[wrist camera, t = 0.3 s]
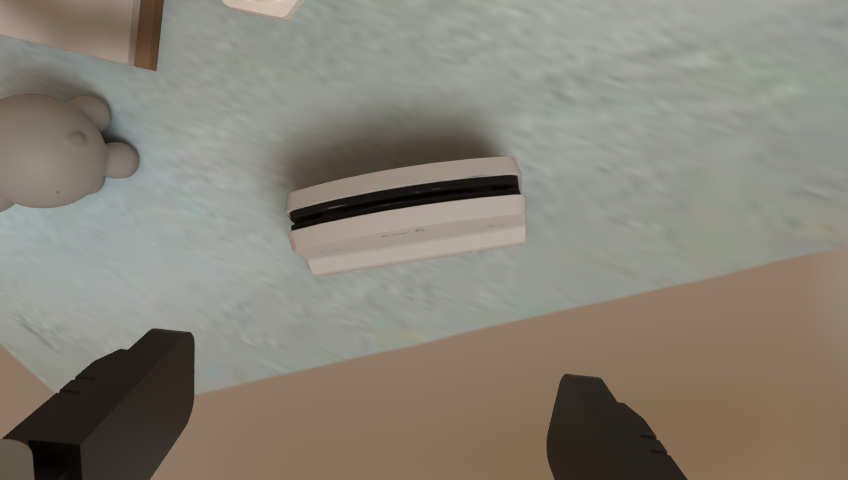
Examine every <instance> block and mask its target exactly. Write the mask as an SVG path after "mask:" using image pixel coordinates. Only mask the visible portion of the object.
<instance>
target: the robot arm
mask: <svg viewBox="0 0 848 480" xmlns="http://www.w3.org/2000/svg"><path fill="white" fill-rule="evenodd" d="M194 351H195V344H194V337H193V335H192V333H190V332H183V331H174V330H165V329H156V328H154V329H151V330H150V331H148V332H147V333H146V334H145V335H144V336H143V337H142V338H141V339H139V340H138V341H137V342H136V343H135V344H134V345H133V346H132V347H131V348H129V349H128V350H125V349H119V350H117V351H115V352H113V353H111V354H108V355H106V356H104V357H102V358H100V359H98V360H95V361H94V362H93V363H91V364H90V365H89V366H88V367H87V368H85V369H84V370H83V371H82V372H81V373H79V374H78V375H77V376H76V378H75V380H71V381H70V382H69V383H68V384H66V385H65V386H64V387H63V388H62V389H60V392H59V393H56V394H54V395H53V396H52V397H51V398H50V399H49V400H47V401H46V402H45V403H44V404H43V405H41V406H40V407H39V408H38V409H37V410H35V411H34V412H33V413H32V414H31V415H30V416H28V417H27V418H26V419H25V420H24V421H22V422H21V423H20V424H19V425H18V426H16V427H15V428H14V429H13V430H12V431H10V432H9V433H8V434H7V435H6V436H4V437H3V438H2V439H0V480H150V479H151V477H152V476H153V474H154V473H155V471H156V470H157V468H158V467H159V465H160V464H161V462H162V461H163V459H164V457H165V456H166V455H167V454H168V452H169V451H170V449H171V448H172V446H173V445H174V443H175V442H176V440H177V439H178V437H179V436H180V434H181V433H182V431H183V430H184V428H185V427H186V425H187V423H188V421H189V418H190V415H191V412H192V408H193V403H194V402H193V401H194ZM547 457H548V462H549V466H550V468H551V471H552V474H553V476H554V479H555V480H687V478H686V477H685V476H684V474H683V473H682V472H681V470H680V469H679V467H678V466H677V465H676V463H675V462H674V460H673V459H672V458H671V456H670V455H667V451H666V449H665V448H664V447H663V445H662V444H661V443H660V441H659V440H657V439H656V435H655V434H654V433H653V431H652V430H651V428H650V427H649V426H648V424H647V423H646V422H645V420H644V419H643V418H642V417H641V416H639V415H638V414H637V413H636V412H634V411H633V410H632V409H631V408H629V407H628V406H627V405H626V404H624V403H619V402H617V401H616V399H615V398H614V396H613V395H612V394H611V392H610V390H609V389H608V387H607V386H606V385H605V383H604V382H603V380H602V379H601V378H599V377H591V376H582V375H581V376H580V375H572V374H565V375H564V376H563V377H562V379H561V381H560V384H559V388H558V392H557V397H556V401H555V405H554V409H553V413H552V417H551V422H550V426H549V430H548V435H547Z"/></svg>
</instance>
